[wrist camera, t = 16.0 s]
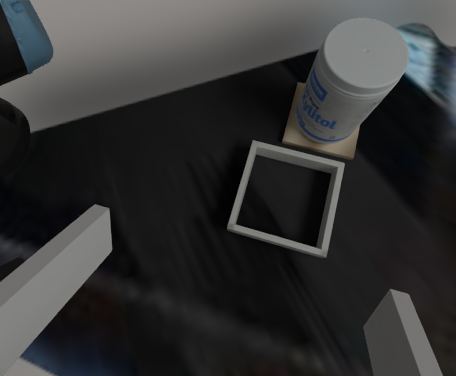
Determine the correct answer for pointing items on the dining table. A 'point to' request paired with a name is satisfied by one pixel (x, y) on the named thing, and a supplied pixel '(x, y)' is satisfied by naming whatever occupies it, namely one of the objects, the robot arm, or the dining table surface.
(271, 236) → the grey square frame
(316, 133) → the supplement tub
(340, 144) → the birch board
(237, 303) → the dining table surface
